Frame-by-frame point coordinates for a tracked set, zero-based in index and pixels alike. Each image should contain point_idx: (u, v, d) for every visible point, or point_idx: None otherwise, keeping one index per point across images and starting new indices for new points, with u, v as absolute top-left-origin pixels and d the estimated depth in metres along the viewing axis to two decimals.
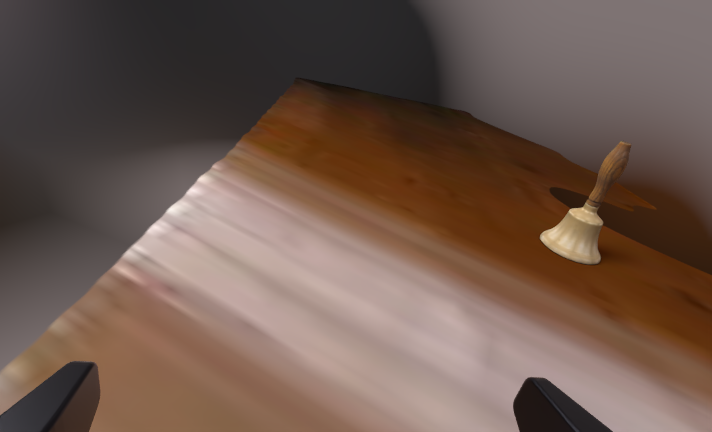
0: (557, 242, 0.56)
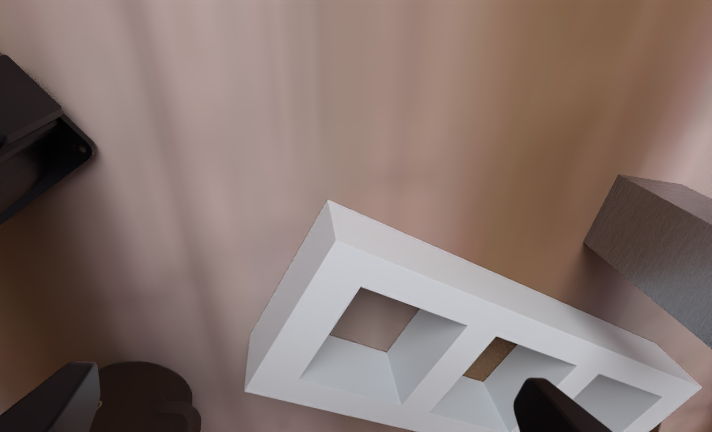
0: None
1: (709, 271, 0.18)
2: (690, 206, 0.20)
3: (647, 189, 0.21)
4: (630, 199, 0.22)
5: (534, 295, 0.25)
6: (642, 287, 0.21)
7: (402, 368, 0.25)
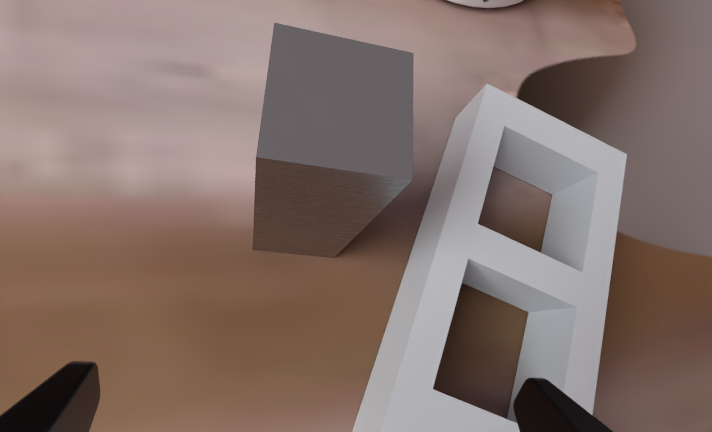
0: None
1: (299, 218, 0.16)
2: None
3: None
4: (270, 245, 0.21)
5: (399, 302, 0.22)
6: (350, 238, 0.19)
7: None
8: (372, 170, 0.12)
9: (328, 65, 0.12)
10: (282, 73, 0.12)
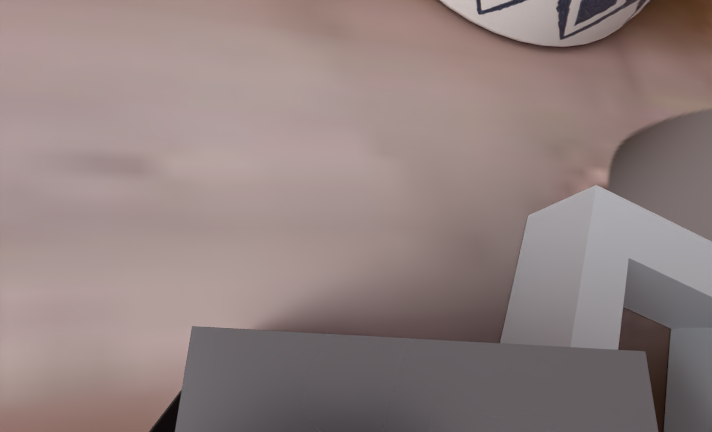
0: None
1: None
2: None
3: None
4: None
5: None
6: None
7: None
8: None
9: None
10: None
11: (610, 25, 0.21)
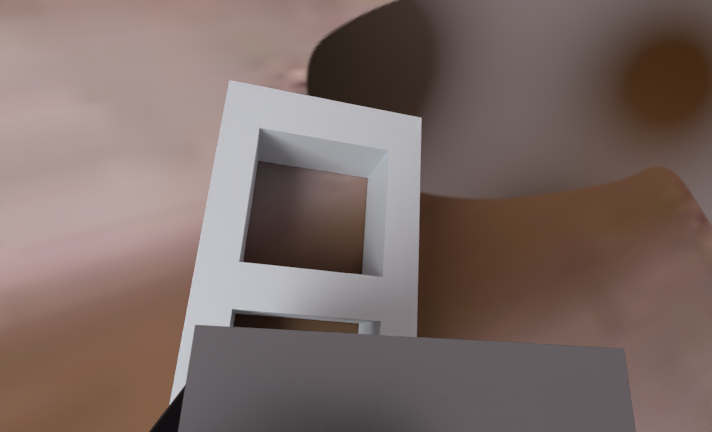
0: None
1: None
2: None
3: None
4: None
5: None
6: None
7: None
8: None
9: None
10: None
11: None
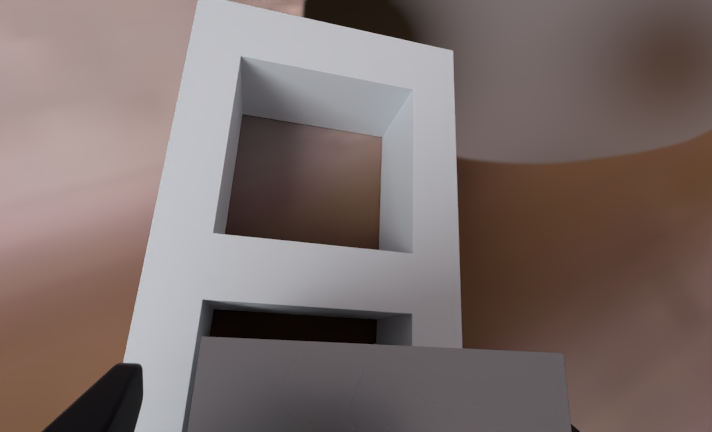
0: None
1: None
2: None
3: None
4: None
5: None
6: None
7: None
8: None
9: None
10: None
11: None
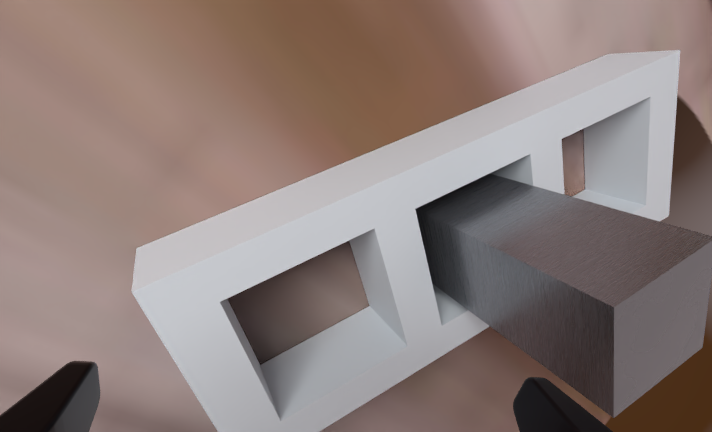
0: None
1: (488, 279, 0.16)
2: (453, 208, 0.18)
3: None
4: None
5: (435, 130, 0.20)
6: (462, 303, 0.19)
7: (384, 311, 0.20)
8: (616, 388, 0.12)
9: (688, 300, 0.13)
10: (679, 274, 0.12)
11: None
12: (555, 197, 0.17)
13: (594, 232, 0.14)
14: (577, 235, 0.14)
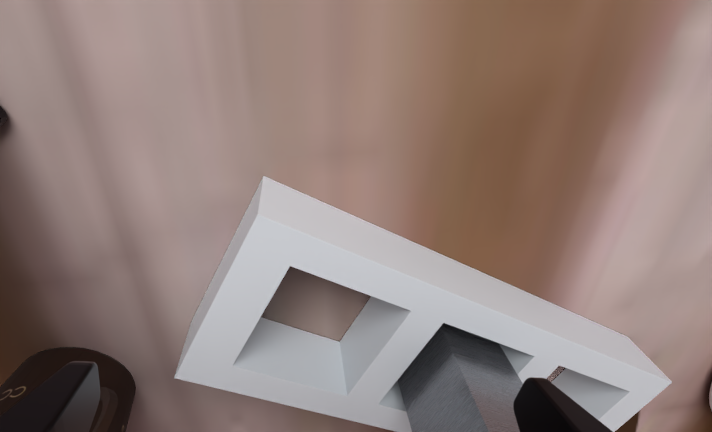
0: None
1: (446, 409, 0.20)
2: (461, 342, 0.22)
3: None
4: None
5: (492, 282, 0.24)
6: (406, 404, 0.22)
7: (351, 357, 0.24)
8: None
9: None
10: None
11: None
12: None
13: None
14: None
